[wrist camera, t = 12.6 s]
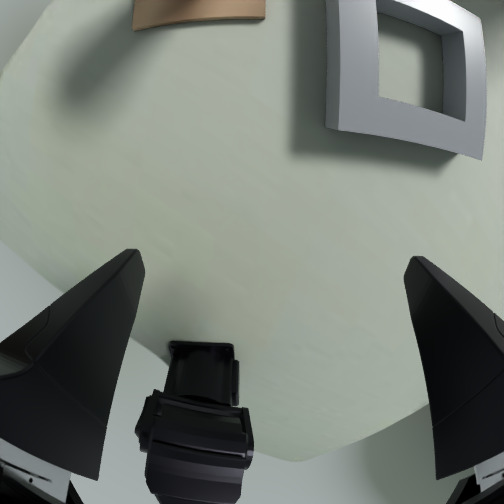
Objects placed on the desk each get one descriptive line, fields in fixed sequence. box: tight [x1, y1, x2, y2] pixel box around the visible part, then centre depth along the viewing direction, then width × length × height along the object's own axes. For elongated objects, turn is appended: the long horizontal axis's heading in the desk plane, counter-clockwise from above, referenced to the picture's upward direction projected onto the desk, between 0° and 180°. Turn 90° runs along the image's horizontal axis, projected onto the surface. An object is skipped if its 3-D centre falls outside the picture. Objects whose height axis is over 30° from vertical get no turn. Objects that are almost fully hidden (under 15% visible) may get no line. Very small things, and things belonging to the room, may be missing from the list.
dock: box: [325, 0, 487, 161], centre depth 13 cm, size 13×13×3 cm
